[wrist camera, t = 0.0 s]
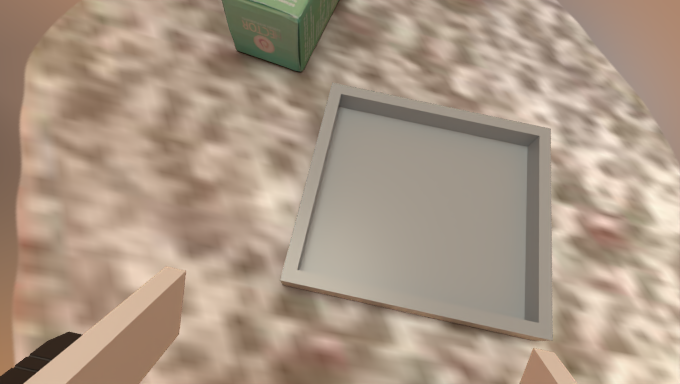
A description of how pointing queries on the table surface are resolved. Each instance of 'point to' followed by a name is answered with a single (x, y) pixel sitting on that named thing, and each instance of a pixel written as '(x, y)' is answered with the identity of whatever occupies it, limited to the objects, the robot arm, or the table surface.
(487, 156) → the tray
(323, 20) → the box
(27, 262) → the table surface
